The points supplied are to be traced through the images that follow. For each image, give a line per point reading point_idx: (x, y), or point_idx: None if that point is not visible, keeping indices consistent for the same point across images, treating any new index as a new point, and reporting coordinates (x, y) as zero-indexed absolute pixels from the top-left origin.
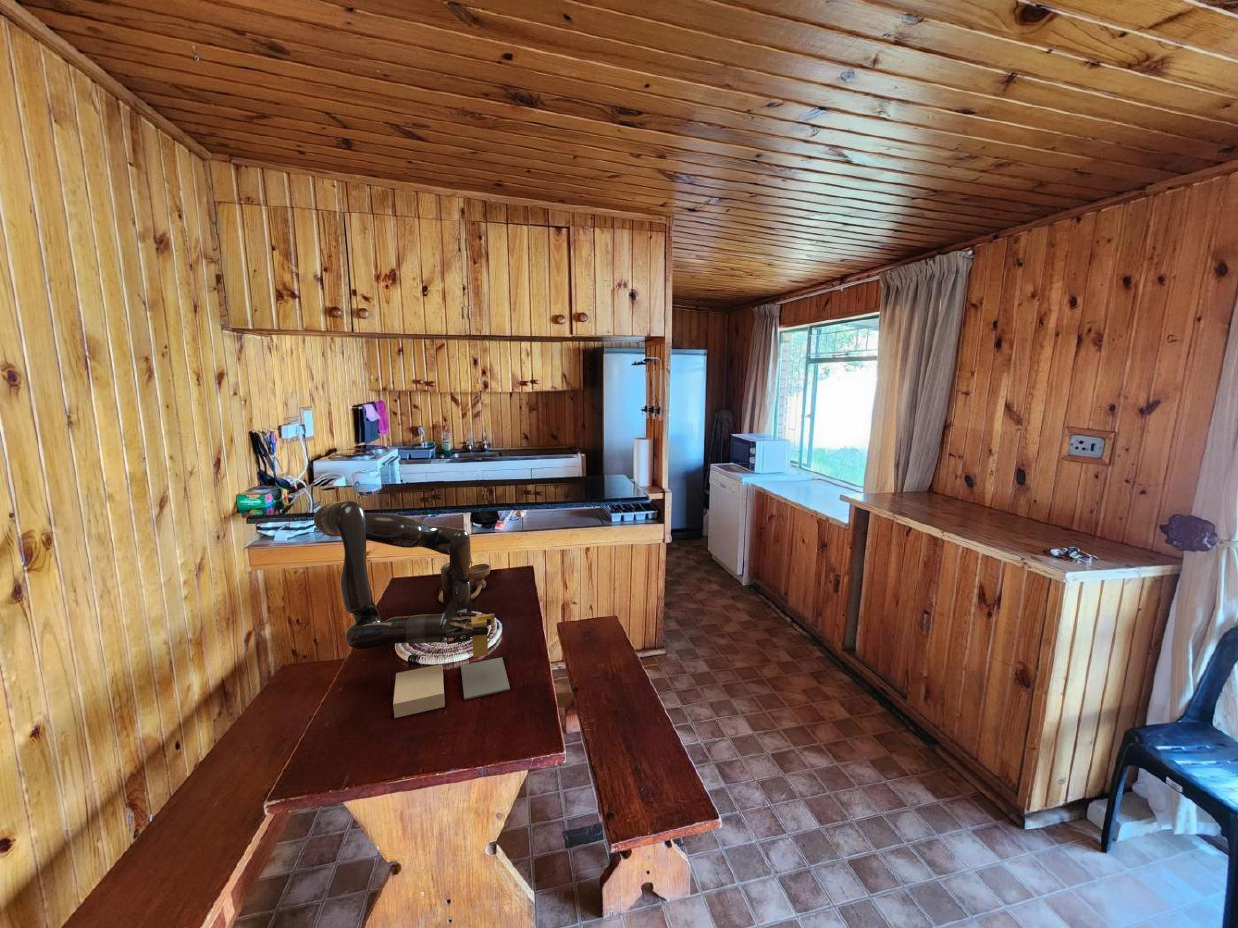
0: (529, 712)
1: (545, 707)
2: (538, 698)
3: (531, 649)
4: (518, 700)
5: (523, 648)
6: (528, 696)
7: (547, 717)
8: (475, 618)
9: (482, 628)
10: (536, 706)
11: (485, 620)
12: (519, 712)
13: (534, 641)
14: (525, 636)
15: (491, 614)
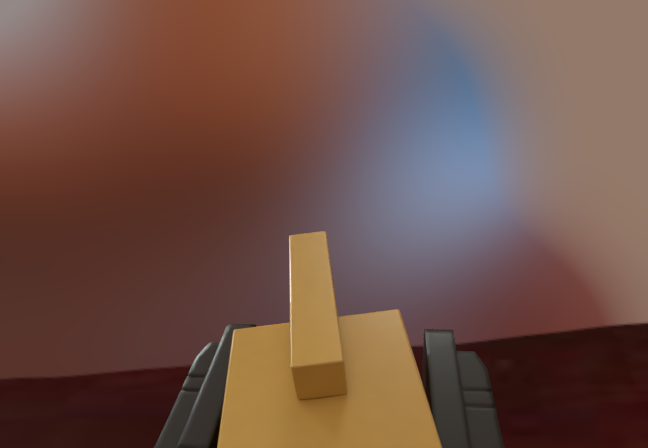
0: (621, 386)
1: (574, 337)
2: (525, 358)
3: (177, 387)
4: (552, 429)
5: (150, 419)
6: (517, 391)
7: (629, 331)
8: (275, 438)
9: (458, 375)
10: (576, 364)
11: (361, 321)
12: (635, 422)
13: (122, 376)
14: (54, 413)
15: (307, 250)
